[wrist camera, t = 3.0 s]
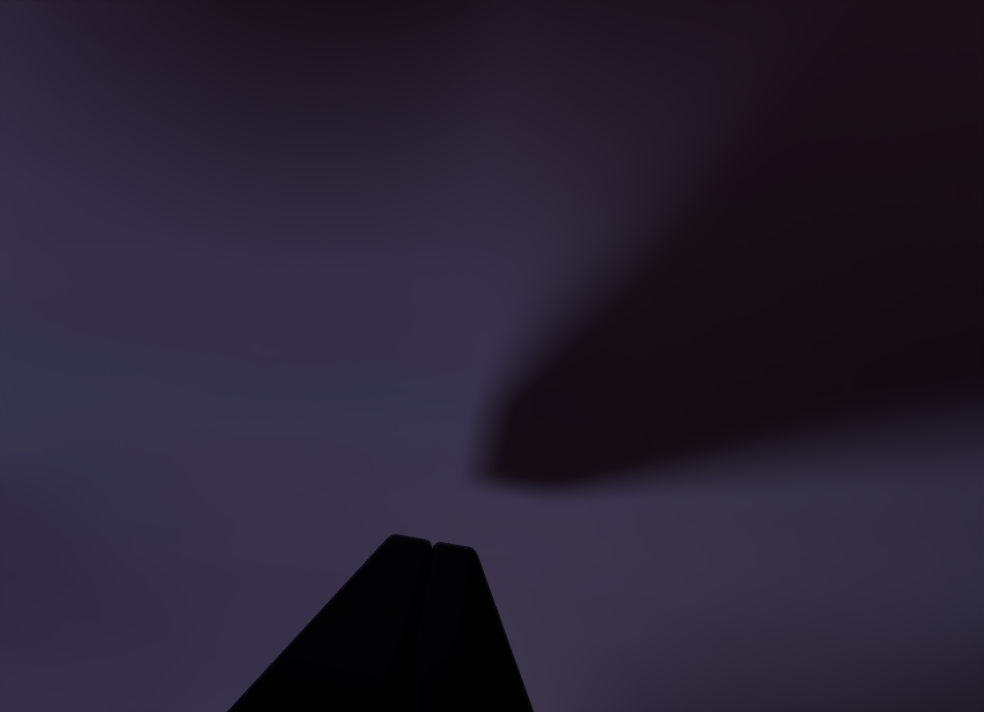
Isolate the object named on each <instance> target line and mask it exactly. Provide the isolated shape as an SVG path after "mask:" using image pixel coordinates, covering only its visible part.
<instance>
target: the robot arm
mask: <svg viewBox="0 0 984 712" xmlns="http://www.w3.org/2000/svg"><path fill="white" fill-rule="evenodd" d="M227 712H534V711H533V708H532V705H531V703H530V700H529V697H528V694H527V691H526V689H525V686H524V683H523V680H522V677H521V675H520V672H519V669H518V666H517V663H516V661H515V658H514V655H513V652H512V649H511V647H510V644H509V641H508V638H507V635H506V632H505V630H504V627H503V624H502V621H501V618H500V616H499V613H498V610H497V607H496V604H495V602H494V599H493V596H492V593H491V590H490V588H489V585H488V582H487V579H486V576H485V574H484V571H483V568H482V565H481V562H480V560H479V557H478V554H477V553H476V551H475V550H474V549H473V548H471V547H467V546H461V545H455V544H450V543H444V542H438V543H436V544H435V545H434V546H433V548H432V545H431V543H430V542H429V541H428V540H426V539H421V538H415V537H410V536H404V535H398V534H394V535H391V536H390V537H388V538H387V539H386V540H385V541H384V542H383V543H382V544H381V545H380V546H379V548H378V549H377V550H376V551H375V552H374V553H373V554H372V555H371V556H370V557H369V558H368V559H367V561H366V562H365V563H364V564H363V565H362V566H361V567H360V568H359V569H358V570H357V571H356V572H355V574H354V575H353V576H352V577H351V578H350V579H349V580H348V581H347V582H346V583H345V584H344V585H343V587H342V588H341V589H340V590H339V591H338V592H337V593H336V594H335V595H334V596H333V597H332V598H331V600H330V601H329V602H328V603H327V604H326V605H325V606H324V607H323V608H322V609H321V610H320V611H319V613H318V614H317V615H316V616H315V617H314V618H313V619H312V620H311V621H310V622H309V623H308V624H307V626H306V627H305V628H304V629H303V630H302V631H301V632H300V633H299V634H298V635H297V636H296V637H295V639H294V640H293V641H292V642H291V643H290V644H289V645H288V646H287V647H286V648H285V649H284V650H283V652H282V653H281V654H280V655H279V656H278V657H277V658H276V659H275V660H274V661H273V662H272V663H271V665H270V666H269V667H268V668H267V669H266V670H265V671H264V672H263V673H262V674H261V675H260V676H259V678H258V679H257V680H256V681H255V682H254V683H253V684H252V685H251V686H250V687H249V688H248V689H247V691H246V692H245V693H244V694H243V695H242V696H241V697H240V698H239V699H238V700H237V701H236V702H235V704H234V705H233V706H232V707H231V708H230V709H229V710H228V711H227Z"/></svg>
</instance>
